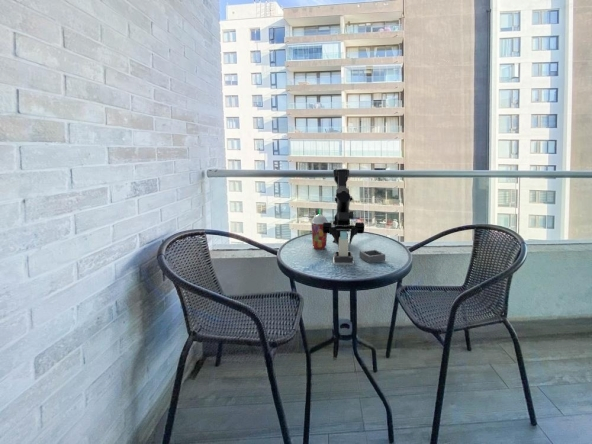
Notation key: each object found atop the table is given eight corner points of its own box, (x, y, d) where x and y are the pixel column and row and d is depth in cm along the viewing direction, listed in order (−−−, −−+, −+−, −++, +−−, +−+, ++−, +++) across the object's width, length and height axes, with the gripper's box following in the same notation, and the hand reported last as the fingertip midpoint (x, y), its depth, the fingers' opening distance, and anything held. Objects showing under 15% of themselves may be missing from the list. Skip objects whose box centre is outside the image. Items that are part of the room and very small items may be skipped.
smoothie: (329, 246, 210) (329, 208, 205) (325, 250, 202) (325, 211, 198) (313, 245, 212) (313, 207, 208) (309, 249, 205) (309, 210, 200)
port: (333, 258, 190) (333, 251, 189) (352, 258, 189) (352, 251, 188) (333, 264, 181) (333, 257, 180) (353, 265, 180) (354, 257, 180)
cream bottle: (338, 258, 187) (339, 230, 184) (347, 258, 187) (347, 230, 184) (338, 260, 183) (339, 232, 180) (347, 261, 183) (348, 232, 180)
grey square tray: (359, 257, 191) (359, 251, 190) (375, 255, 193) (375, 249, 193) (368, 263, 183) (369, 256, 182) (385, 260, 186) (385, 254, 185)
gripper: (322, 204, 184) (322, 234, 176) (364, 204, 183) (366, 234, 174) (323, 218, 193) (322, 247, 185) (362, 218, 192) (364, 247, 184)
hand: (343, 243), depth 182 cm, fingers open, 5 cm apart
